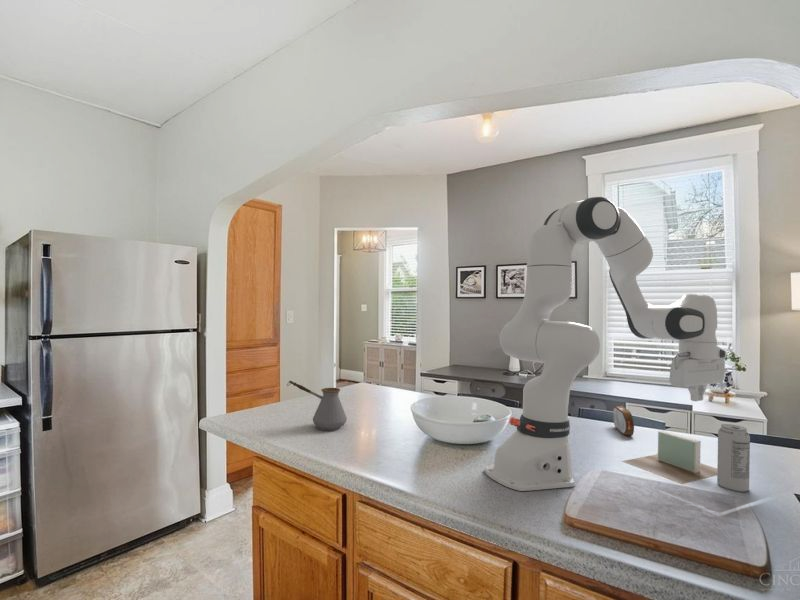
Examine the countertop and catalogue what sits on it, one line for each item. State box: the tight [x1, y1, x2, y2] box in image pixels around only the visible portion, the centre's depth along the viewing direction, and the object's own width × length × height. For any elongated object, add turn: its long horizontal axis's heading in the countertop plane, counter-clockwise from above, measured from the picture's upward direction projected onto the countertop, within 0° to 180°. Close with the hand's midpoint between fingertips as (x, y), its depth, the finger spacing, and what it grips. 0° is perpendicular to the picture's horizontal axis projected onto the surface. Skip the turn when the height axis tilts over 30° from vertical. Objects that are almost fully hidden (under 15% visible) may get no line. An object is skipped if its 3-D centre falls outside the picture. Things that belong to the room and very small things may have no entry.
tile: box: [657, 430, 702, 473], centre depth 114 cm, size 2×10×8 cm, turn 26°
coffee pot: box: [286, 380, 348, 432], centre depth 142 cm, size 21×12×15 cm, turn 81°
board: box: [621, 453, 717, 485], centre depth 113 cm, size 20×16×1 cm
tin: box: [612, 405, 635, 437], centre depth 147 cm, size 15×3×8 cm, turn 168°
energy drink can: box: [716, 423, 751, 493], centre depth 100 cm, size 6×6×15 cm
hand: (696, 400), depth 117 cm, fingers closed
